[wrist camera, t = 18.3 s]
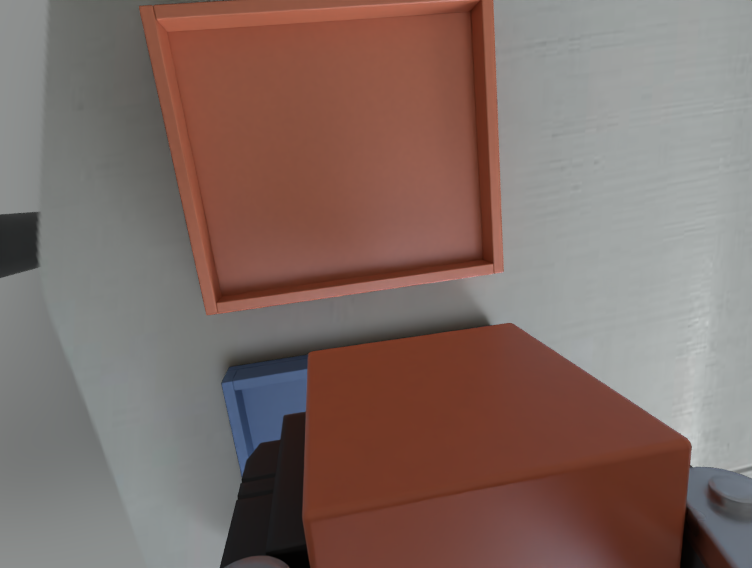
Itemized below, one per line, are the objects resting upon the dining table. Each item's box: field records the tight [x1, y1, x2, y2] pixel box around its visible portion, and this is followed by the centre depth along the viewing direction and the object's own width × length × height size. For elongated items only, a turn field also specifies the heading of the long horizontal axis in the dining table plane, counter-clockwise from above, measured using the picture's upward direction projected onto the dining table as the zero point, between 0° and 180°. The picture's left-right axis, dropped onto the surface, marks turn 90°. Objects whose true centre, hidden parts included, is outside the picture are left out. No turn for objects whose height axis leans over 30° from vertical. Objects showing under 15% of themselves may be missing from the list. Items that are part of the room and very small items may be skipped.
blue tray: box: [221, 325, 492, 476], centre depth 26 cm, size 16×14×2 cm
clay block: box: [302, 323, 692, 568], centre depth 7 cm, size 5×5×5 cm
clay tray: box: [139, 0, 504, 315], centre depth 21 cm, size 16×14×2 cm
